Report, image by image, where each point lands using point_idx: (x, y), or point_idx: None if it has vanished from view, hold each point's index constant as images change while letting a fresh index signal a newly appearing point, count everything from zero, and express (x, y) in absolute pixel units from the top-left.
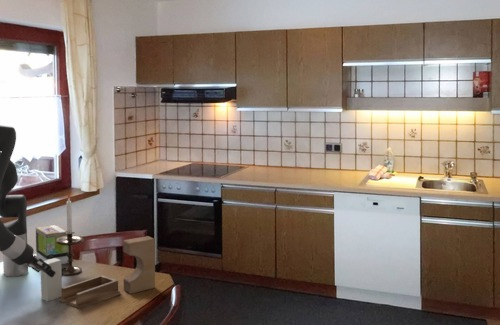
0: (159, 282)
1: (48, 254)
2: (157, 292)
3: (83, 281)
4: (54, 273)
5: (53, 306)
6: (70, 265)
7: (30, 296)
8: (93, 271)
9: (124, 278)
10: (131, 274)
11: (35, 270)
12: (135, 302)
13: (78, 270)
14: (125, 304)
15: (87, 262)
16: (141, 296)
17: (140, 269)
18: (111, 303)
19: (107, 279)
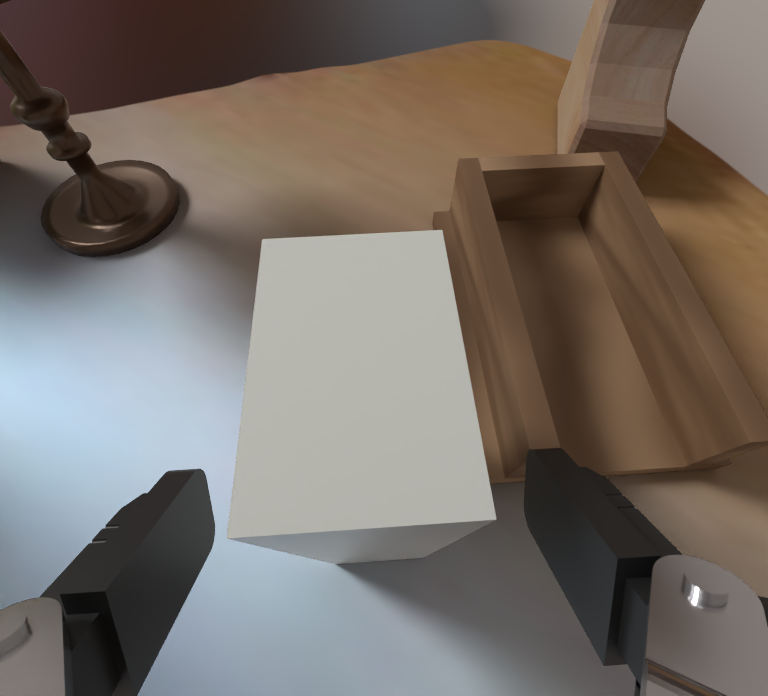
0: (564, 79)
1: None
2: (674, 127)
3: (497, 270)
4: (595, 482)
5: (560, 588)
6: (95, 176)
7: (223, 610)
8: (220, 150)
9: (589, 122)
10: (597, 81)
11: (177, 594)
12: (756, 226)
13: (151, 181)
14: (763, 265)
15: (96, 115)
16: (687, 179)
17: (667, 26)
18: (712, 301)
19: (545, 172)
